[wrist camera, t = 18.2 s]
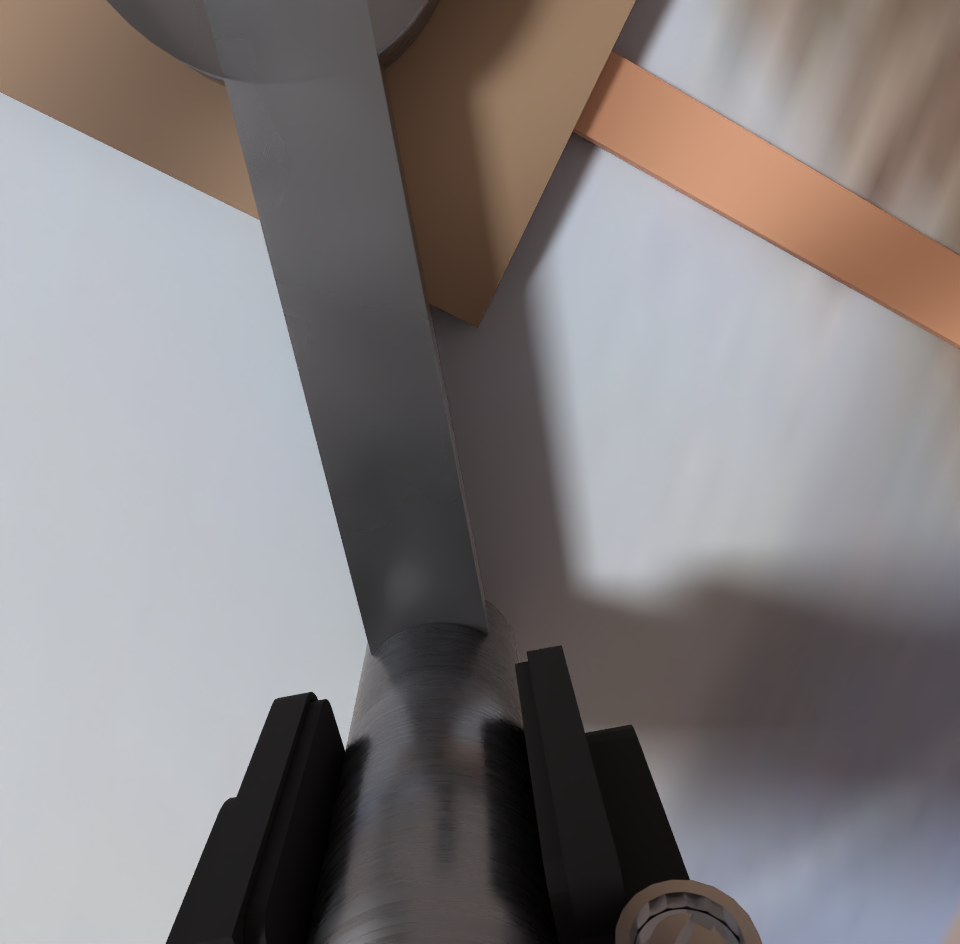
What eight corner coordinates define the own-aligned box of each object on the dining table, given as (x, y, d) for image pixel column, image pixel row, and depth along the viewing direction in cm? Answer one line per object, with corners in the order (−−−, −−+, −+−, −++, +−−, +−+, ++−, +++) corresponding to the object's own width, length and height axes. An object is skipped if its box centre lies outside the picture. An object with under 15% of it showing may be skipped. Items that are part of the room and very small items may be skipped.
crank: (24, -310, 9) (-1386, -2107, 2) (421, -389, 9) (324, -2524, 2) (328, 737, 14) (213, 1214, 7) (582, 694, 14) (707, 1135, 7)
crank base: (-126, 25, 11) (-159, 13, 10) (16, -666, 8) (-15, -732, 8) (969, 567, 14) (990, 581, 14) (1263, 181, 12) (1304, 178, 12)
